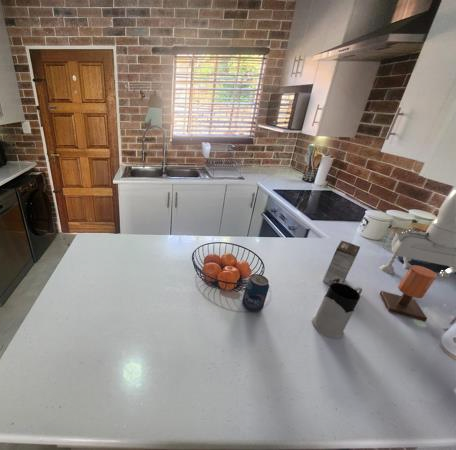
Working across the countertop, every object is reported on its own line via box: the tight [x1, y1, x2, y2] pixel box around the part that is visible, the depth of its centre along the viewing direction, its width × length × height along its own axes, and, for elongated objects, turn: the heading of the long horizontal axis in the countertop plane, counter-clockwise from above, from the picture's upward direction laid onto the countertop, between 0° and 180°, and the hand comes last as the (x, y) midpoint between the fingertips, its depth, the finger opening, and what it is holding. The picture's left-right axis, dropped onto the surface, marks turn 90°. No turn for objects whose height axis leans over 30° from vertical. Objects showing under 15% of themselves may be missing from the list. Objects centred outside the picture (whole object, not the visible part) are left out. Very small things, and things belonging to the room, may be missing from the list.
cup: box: [397, 264, 438, 299], centre depth 84 cm, size 6×6×9 cm
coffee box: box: [322, 240, 361, 286], centre depth 98 cm, size 9×6×16 cm
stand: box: [379, 290, 428, 322], centre depth 86 cm, size 10×10×16 cm
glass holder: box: [311, 283, 363, 339], centre depth 78 cm, size 9×14×15 cm, turn 113°
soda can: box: [241, 273, 270, 314], centre depth 84 cm, size 7×7×12 cm
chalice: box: [379, 229, 408, 275], centre depth 105 cm, size 7×7×18 cm
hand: (423, 272), depth 82 cm, fingers open, 8 cm apart
